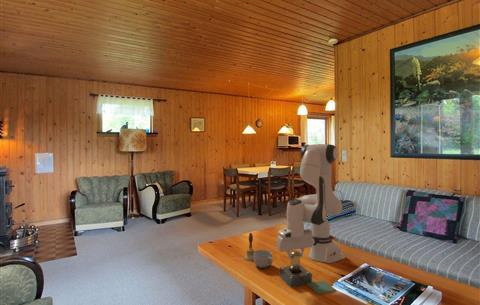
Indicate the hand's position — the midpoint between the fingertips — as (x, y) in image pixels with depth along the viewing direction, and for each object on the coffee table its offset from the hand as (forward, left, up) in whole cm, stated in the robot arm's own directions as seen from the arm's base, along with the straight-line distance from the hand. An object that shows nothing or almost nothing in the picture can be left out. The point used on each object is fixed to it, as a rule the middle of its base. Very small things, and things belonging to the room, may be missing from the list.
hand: (295, 257), depth 143 cm
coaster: (-8, +11, -12) cm, 18 cm away
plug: (0, 0, -8) cm, 8 cm away
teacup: (+9, -20, -12) cm, 25 cm away
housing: (0, 0, -12) cm, 12 cm away
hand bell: (+12, -34, -12) cm, 38 cm away
